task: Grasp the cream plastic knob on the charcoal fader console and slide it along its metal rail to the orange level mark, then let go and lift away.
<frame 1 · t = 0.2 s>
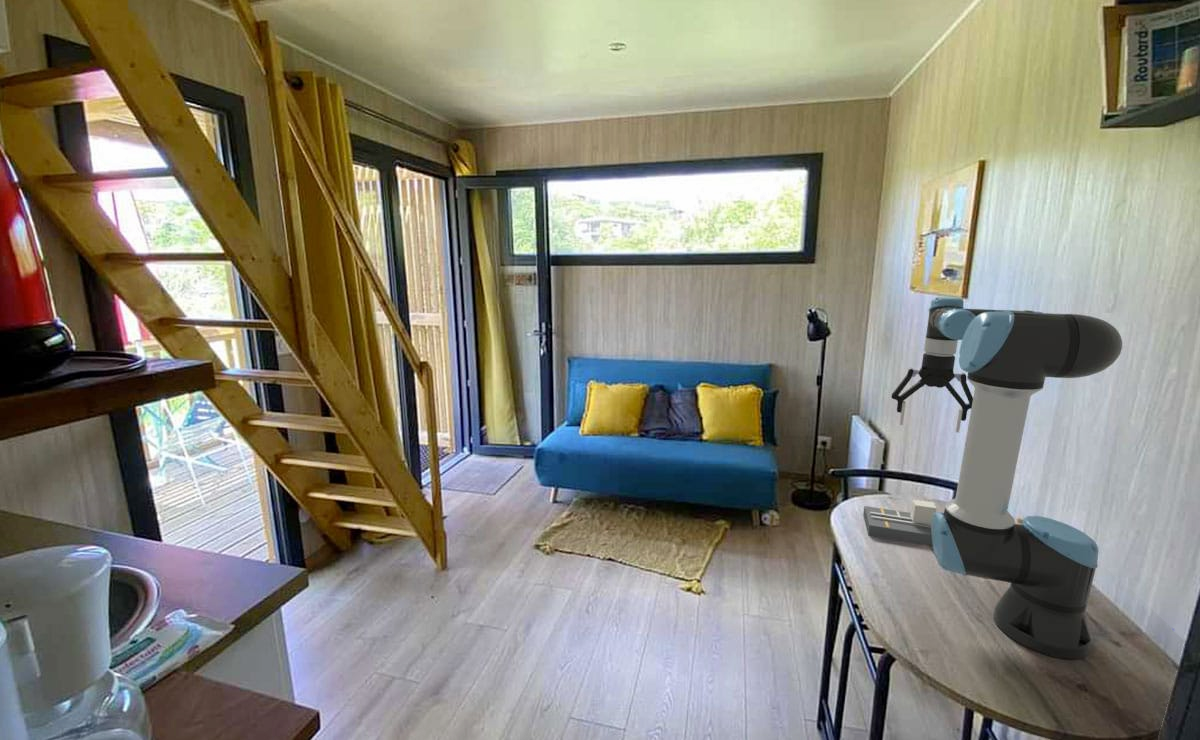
hand: (928, 427, 151), 27 cm above the table, fingers open, 13 cm apart
fader console: (899, 530, 147), on the table
fader knob: (922, 513, 144), point 6 cm above the table, slide at -5.0 cm
teacup with lid: (1015, 564, 132), on the table
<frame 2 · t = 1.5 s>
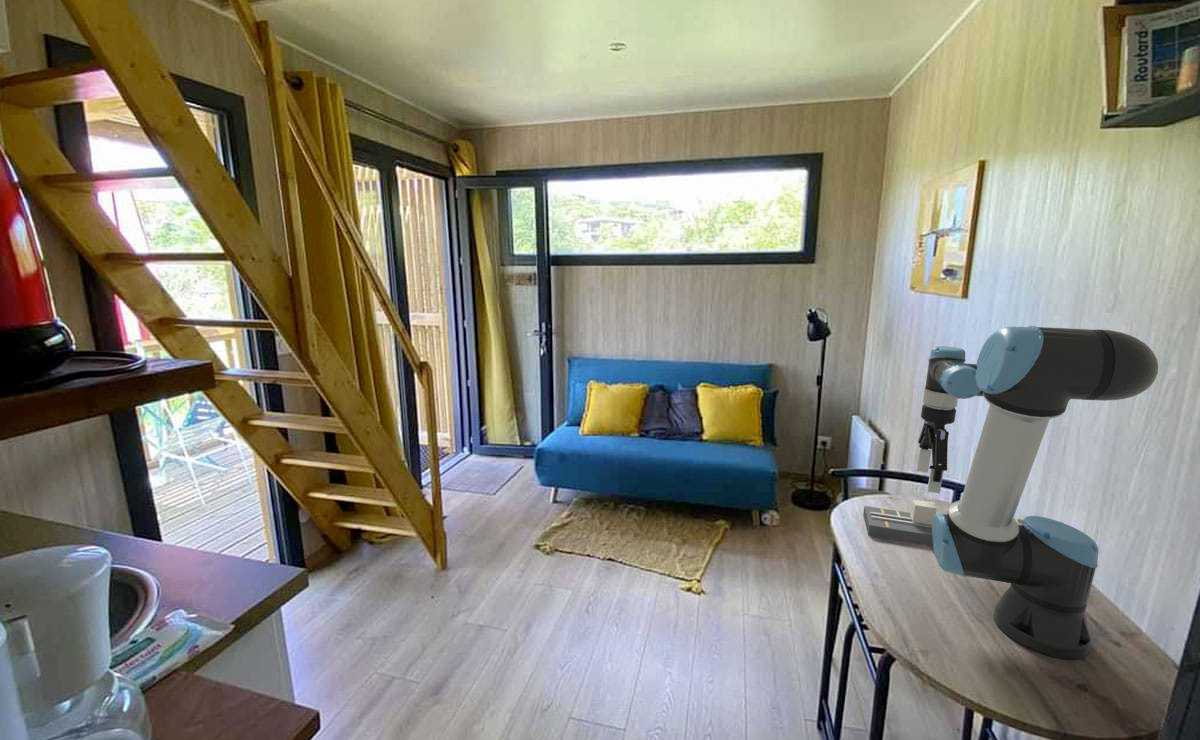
hand: (927, 481, 143), 15 cm above the table, fingers open, 13 cm apart
nothing on the table moved.
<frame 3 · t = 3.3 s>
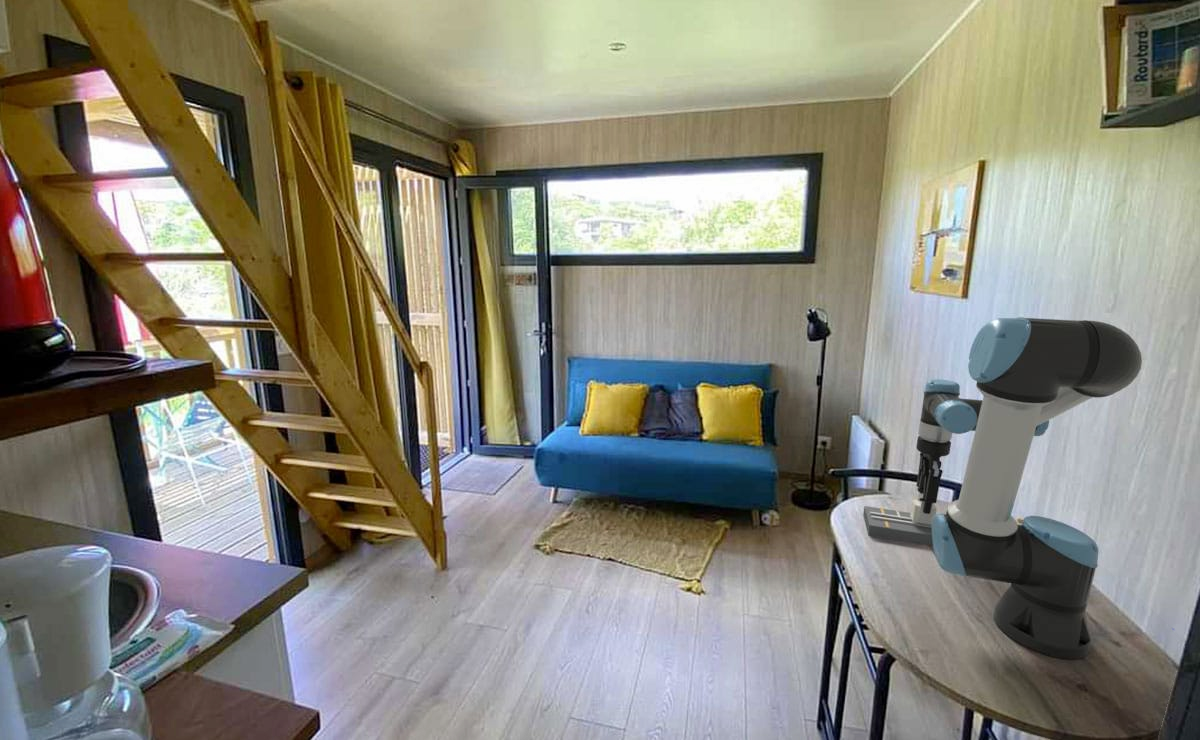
hand: (922, 518, 145), 4 cm above the table, fingers closed on fader knob, 4 cm apart
fader knob: (922, 513, 144), point 6 cm above the table, slide at -5.0 cm, touching gripper
everything else where it was.
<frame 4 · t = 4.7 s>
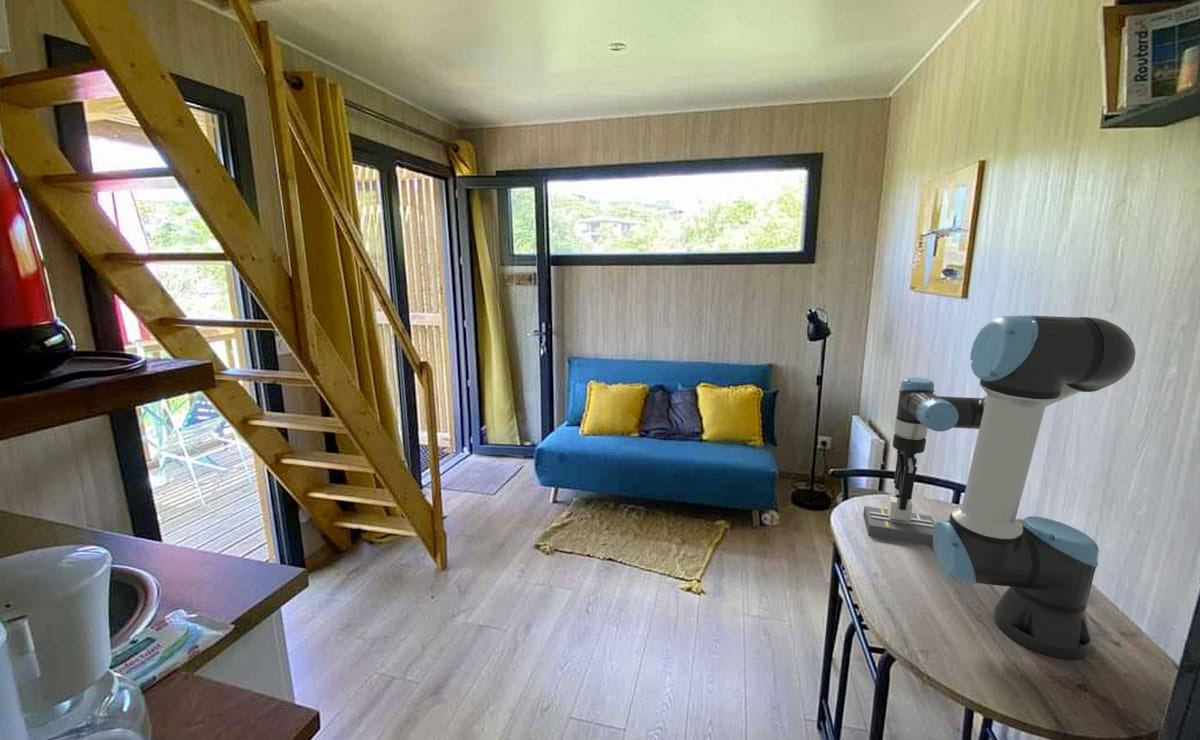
hand: (898, 515, 147), 4 cm above the table, fingers closed on fader knob, 4 cm apart
fader knob: (899, 509, 146), point 6 cm above the table, slide at 0.7 cm, touching gripper
everything else where it was.
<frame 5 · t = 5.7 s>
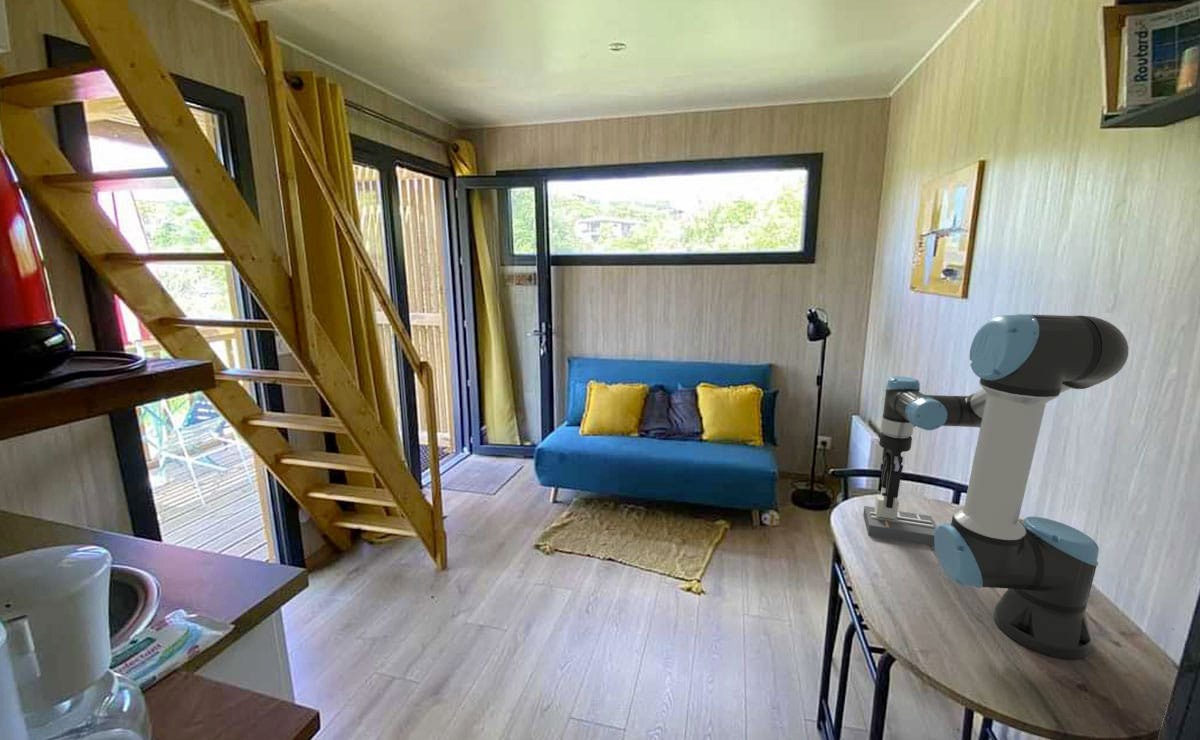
hand: (885, 513, 148), 4 cm above the table, fingers closed on fader knob, 4 cm apart
fader knob: (886, 507, 147), point 6 cm above the table, slide at 3.9 cm, touching gripper
everything else where it was.
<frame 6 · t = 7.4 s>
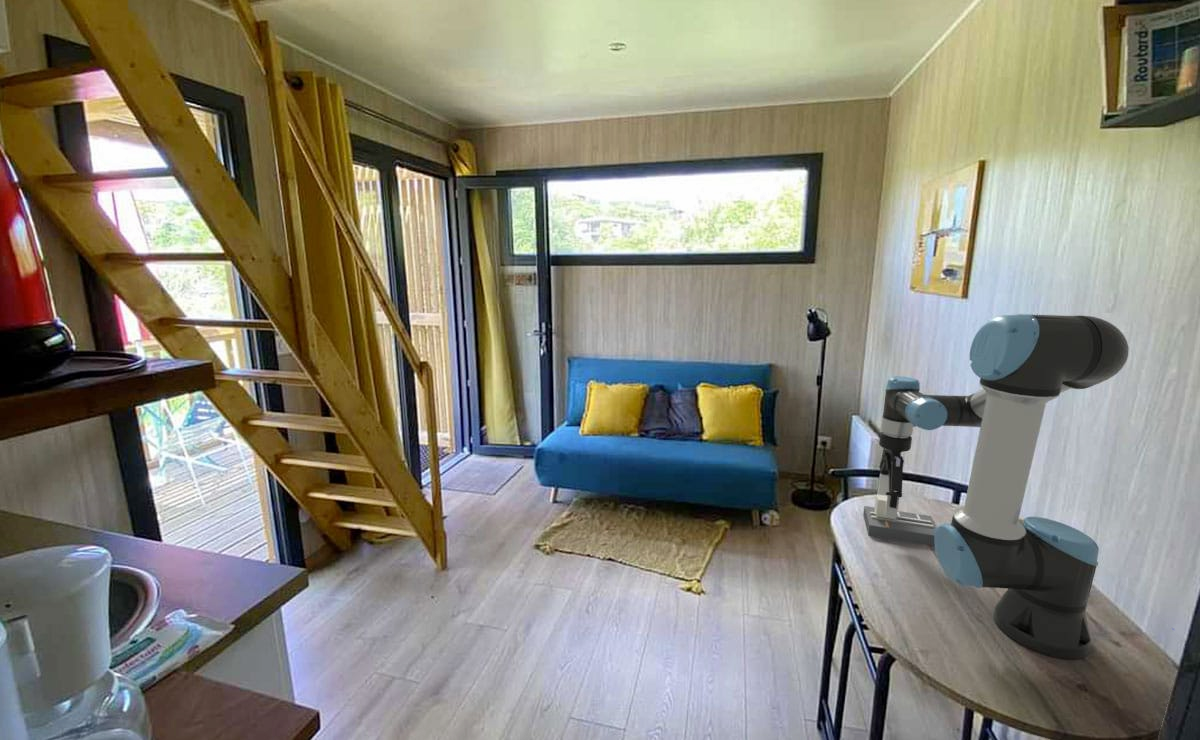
hand: (886, 506, 147), 7 cm above the table, fingers open, 13 cm apart
fader knob: (886, 507, 147), point 6 cm above the table, slide at 4.0 cm
everything else where it was.
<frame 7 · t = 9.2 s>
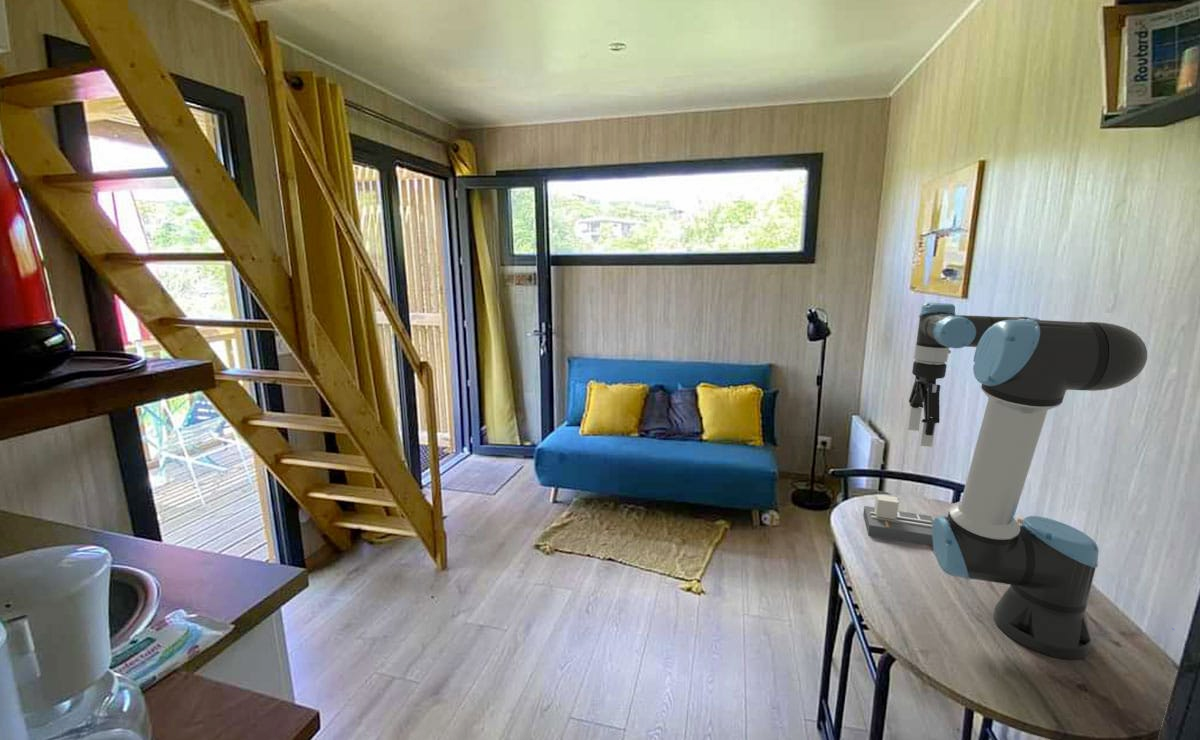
hand: (919, 437, 145), 26 cm above the table, fingers open, 13 cm apart
nothing on the table moved.
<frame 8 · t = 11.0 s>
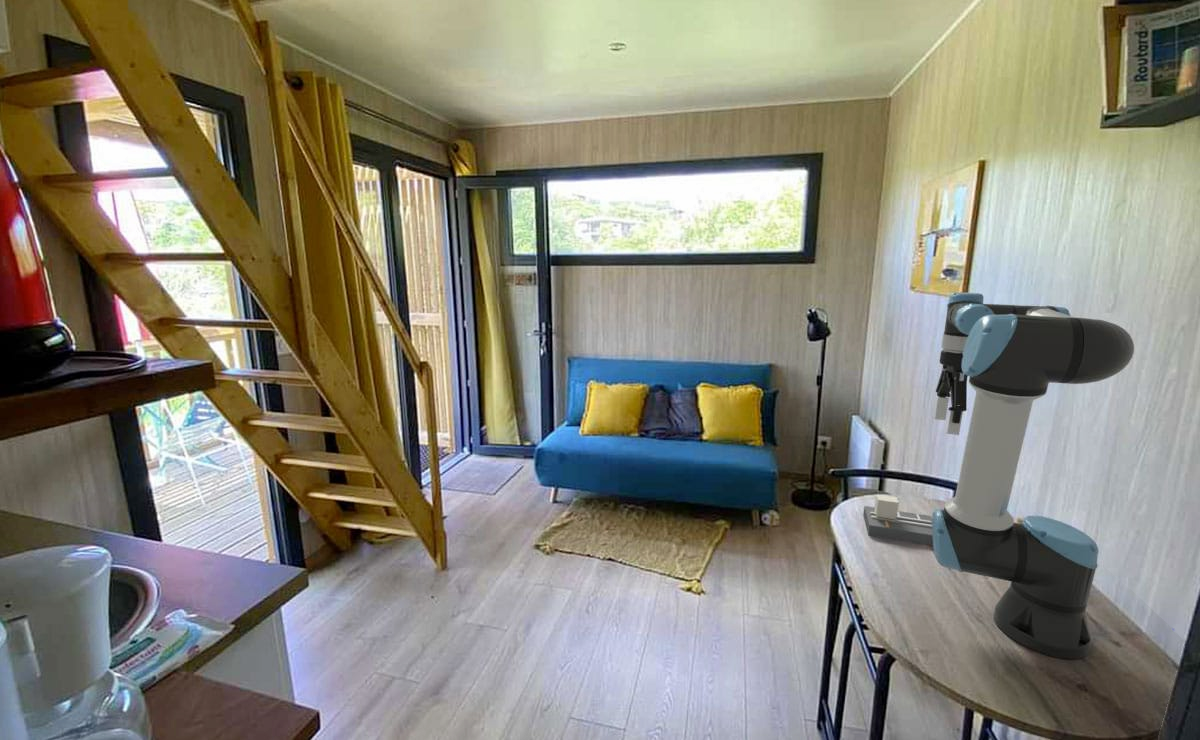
hand: (945, 426, 146), 29 cm above the table, fingers open, 13 cm apart
nothing on the table moved.
at the end: fader knob slide at 4.0 cm; the gripper is holding nothing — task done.
